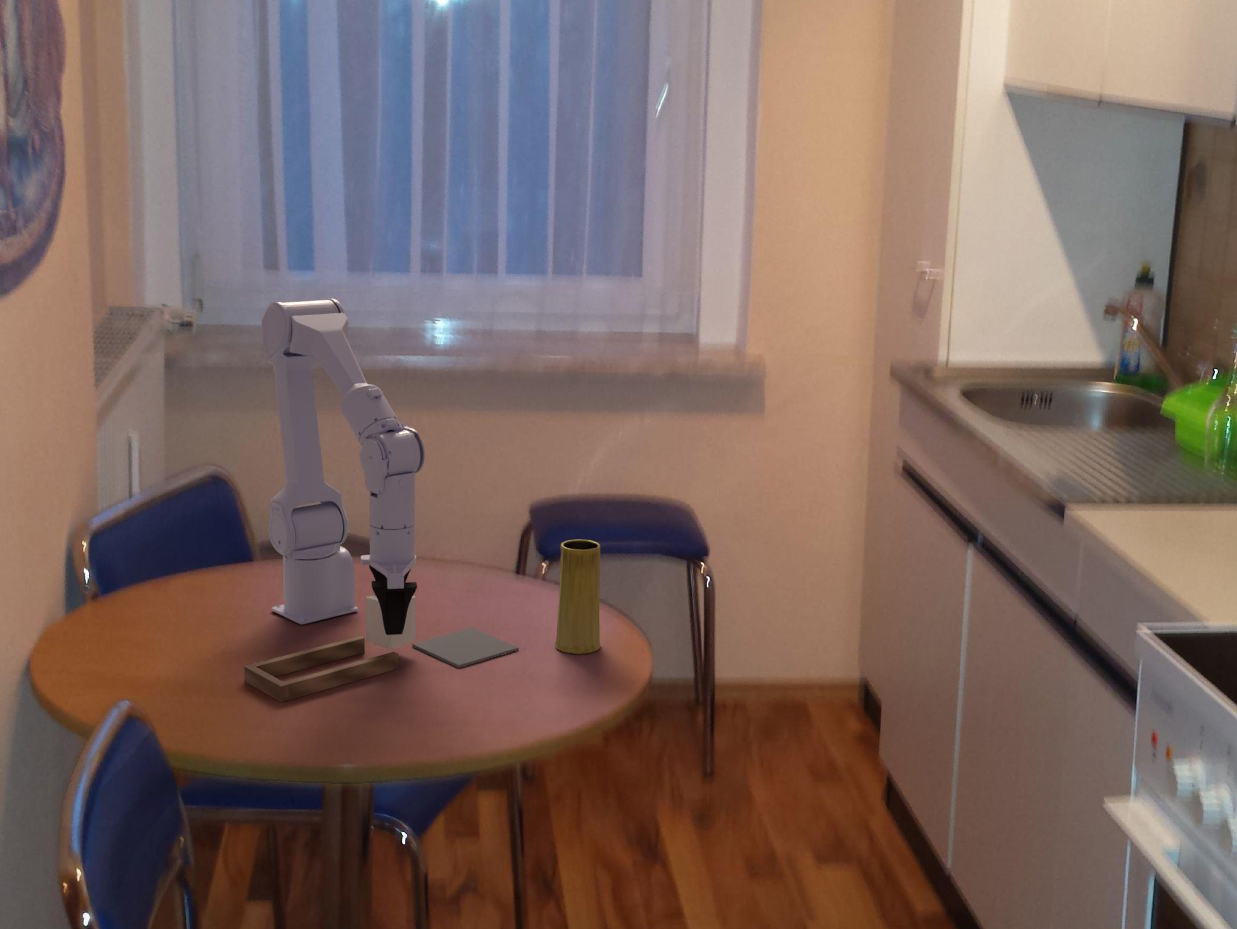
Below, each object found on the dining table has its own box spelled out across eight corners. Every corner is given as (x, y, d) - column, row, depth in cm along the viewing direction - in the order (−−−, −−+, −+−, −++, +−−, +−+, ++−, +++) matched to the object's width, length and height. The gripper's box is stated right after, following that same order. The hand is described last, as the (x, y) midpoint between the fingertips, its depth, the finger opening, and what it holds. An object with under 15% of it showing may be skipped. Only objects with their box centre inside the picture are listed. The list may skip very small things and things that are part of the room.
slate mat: (471, 630, 196) (471, 627, 196) (518, 650, 189) (518, 647, 189) (412, 646, 189) (412, 643, 189) (458, 668, 182) (459, 665, 182)
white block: (390, 632, 188) (391, 589, 187) (415, 640, 186) (415, 596, 184) (366, 641, 185) (365, 597, 183) (390, 649, 182) (390, 604, 181)
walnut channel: (360, 650, 187) (360, 635, 187) (398, 668, 181) (398, 653, 181) (244, 681, 175) (244, 666, 175) (281, 702, 170) (280, 686, 169)
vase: (610, 647, 191) (613, 545, 188) (577, 658, 187) (580, 554, 183) (577, 635, 195) (580, 535, 192) (545, 646, 191) (547, 544, 187)
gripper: (358, 509, 188) (359, 606, 191) (362, 540, 174) (363, 645, 177) (412, 508, 189) (412, 605, 192) (420, 539, 175) (420, 643, 179)
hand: (392, 624), depth 185 cm, fingers closed on white block, 6 cm apart
